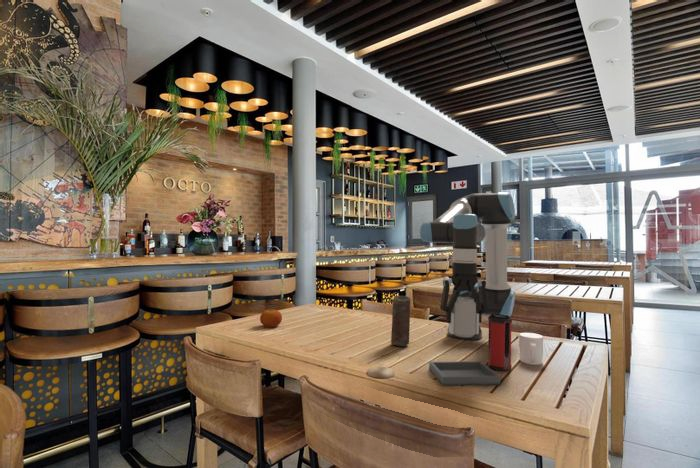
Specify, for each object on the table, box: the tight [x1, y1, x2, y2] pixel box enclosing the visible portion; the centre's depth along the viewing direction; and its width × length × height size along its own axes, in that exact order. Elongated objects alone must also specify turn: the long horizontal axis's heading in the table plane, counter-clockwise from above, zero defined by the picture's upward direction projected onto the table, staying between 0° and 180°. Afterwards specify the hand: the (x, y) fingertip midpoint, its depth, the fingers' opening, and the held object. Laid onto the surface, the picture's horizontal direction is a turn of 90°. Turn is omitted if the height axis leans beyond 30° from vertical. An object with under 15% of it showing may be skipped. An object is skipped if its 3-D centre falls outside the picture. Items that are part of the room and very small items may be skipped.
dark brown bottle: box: [390, 295, 412, 347], centre depth 155 cm, size 8×7×20 cm
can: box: [452, 297, 476, 337], centre depth 121 cm, size 8×8×12 cm
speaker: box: [486, 314, 513, 372], centre depth 130 cm, size 8×8×18 cm
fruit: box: [259, 309, 283, 328], centre depth 184 cm, size 11×10×8 cm
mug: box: [518, 332, 544, 366], centre depth 138 cm, size 12×9×8 cm
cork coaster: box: [366, 366, 396, 379], centre depth 123 cm, size 9×9×1 cm
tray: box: [428, 360, 501, 387], centre depth 121 cm, size 18×14×3 cm
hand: (463, 332), depth 121 cm, fingers closed on can, 7 cm apart
